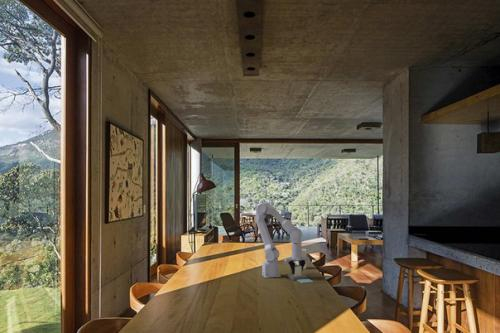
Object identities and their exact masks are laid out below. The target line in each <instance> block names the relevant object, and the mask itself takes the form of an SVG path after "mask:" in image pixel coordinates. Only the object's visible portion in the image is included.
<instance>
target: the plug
mask: <svg viewBox="0 0 500 333" xmlns="http://www.w3.org/2000/svg"><path fill="white" fill-rule="evenodd" d="M302 274H303V271H302V269H301V266H300V265H297V264H295V274H293V276H302Z"/></svg>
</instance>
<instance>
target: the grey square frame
mask: <svg viewBox="0 0 500 333" xmlns="http://www.w3.org/2000/svg"><path fill="white" fill-rule="evenodd" d="M286 278H289V279H290V280H292V281H297V280H300V279H308V275H305V274H303V273H302V276H293V274H292V273H287V274H286Z"/></svg>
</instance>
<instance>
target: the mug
mask: <svg viewBox="0 0 500 333" xmlns="http://www.w3.org/2000/svg"><path fill="white" fill-rule="evenodd" d="M291 257H292V254H291V256H290V258H291ZM302 257H307V249H305V248H302ZM305 262H306V263H305V265H304V267H303V270H306V269H307V261H305ZM294 263H295V265H299V261H294Z"/></svg>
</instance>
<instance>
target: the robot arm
mask: <svg viewBox="0 0 500 333" xmlns="http://www.w3.org/2000/svg"><path fill="white" fill-rule="evenodd" d="M267 215H271V216H272V217H274V218H275V219H276V220H277V221H278V222H279V223H280V224H281V227H282V229H284V231H285V232H286V233H287V234H288V235H289V236H290V238H291V255H292V257H291V256H290V257H285V258H284V263H288V265H289V267H290V270H291V274H295V265H296V264H295V263H294V261H295V262H296V261H299V265H300V266H301V269H302V272H303V270H304V269H303V267H304V265H305V263H306V264H307V261H310V258H309V256H306V257H302V249H303V248H302V236H303V232H302V230H301V229H300V228H298V226H295V225H294V224H293V223H292V222H293V221H292V220H289V219H285V218H284V217H283V215H281V214H280V212H279V211H278V210H277V209H276V208H275V207H274V205H272V204H271V203H270V202H268V201H265V202H259V203H258V204H257V206H256V207H255V216H254V221H255V223H256V225H257V228H258V231H259V235H260V237H261V240H262V243H263V245H264V250H263V251H264V258H265V261H262V263H261V269H262V271H261V276H262V277H263V278H265V279H269V278H281V277H282V275H280V272H279V257H280V251H279V250H278V249H277V247H276V245H275V244H274V243H273V240H272V236H271V234H270V232H269V229H268V226H267V223H266V221H265V218H266V216H267ZM305 261H306V262H305Z"/></svg>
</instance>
